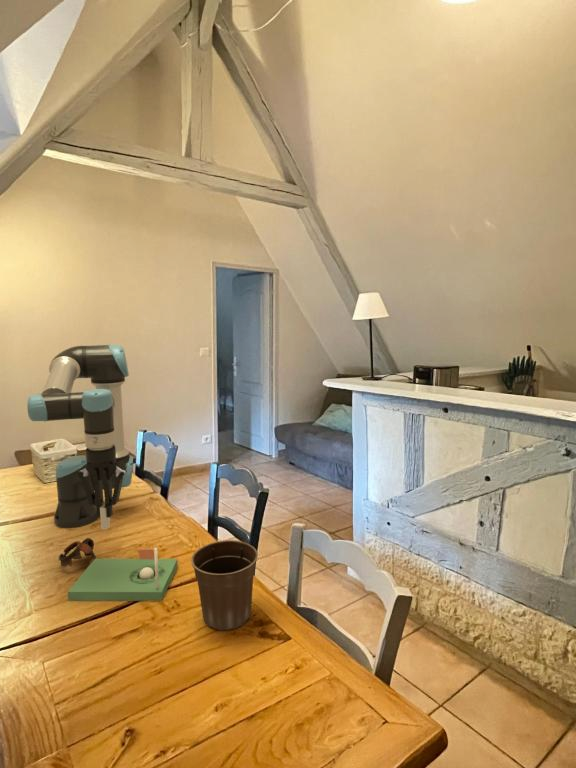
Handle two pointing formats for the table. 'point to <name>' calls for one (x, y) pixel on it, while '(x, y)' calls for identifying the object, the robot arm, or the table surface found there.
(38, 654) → the table surface
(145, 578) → the ball
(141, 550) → the flag pin
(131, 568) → the green
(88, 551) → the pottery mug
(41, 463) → the storage basket
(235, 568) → the plant pot
